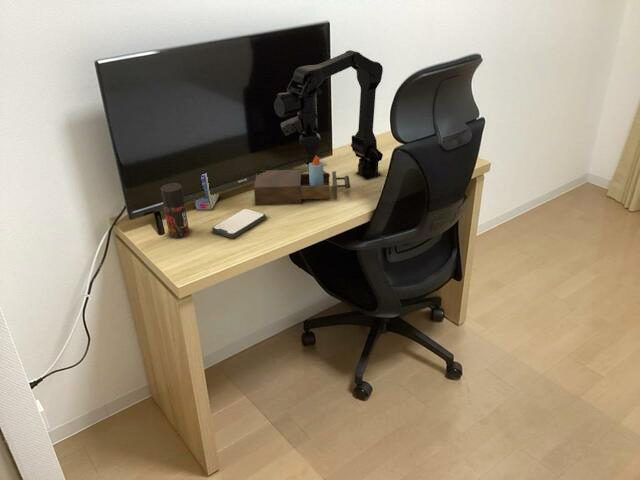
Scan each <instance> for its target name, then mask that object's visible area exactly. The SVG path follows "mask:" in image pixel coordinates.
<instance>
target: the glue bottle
mask: <svg viewBox="0 0 640 480" xmlns="http://www.w3.org/2000/svg"><path fill="white" fill-rule="evenodd" d="M308 173H309V182H310V186H320V185H324V183H323V173H324V163H323V162H322V161H320V157H319V156H317V154H316V155H315V158H314V160H313V162H312V163H309V162H308Z"/></svg>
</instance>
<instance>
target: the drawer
mask: <svg viewBox="0 0 640 480" xmlns="http://www.w3.org/2000/svg"><path fill="white" fill-rule="evenodd" d="M331 177H332V178H331V179H332V180H331V181H332V196H333V197H332V198H333V200H338V188H345V189H347V190H348V189H350V188H351V182H350V176H349V175H345V176H344V177H341V176H340V177H338V176H337V171H336V170H334V171H332V172H331ZM339 180H340V181H341V180H343V181H344V184H338V181H339ZM323 183H324V185H320V186H310V182H309V172H305V173H302V172H301V200H313V199H317V200H318V199H319V200H320V199H331V185H330V172H323Z"/></svg>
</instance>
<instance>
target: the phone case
mask: <svg viewBox="0 0 640 480" xmlns="http://www.w3.org/2000/svg"><path fill="white" fill-rule="evenodd" d="M265 219H266V213H263V212H260V211H257V210H254V209H250V208H242V209H241V210H239V211H238V212H236V213H234V214H232V215H230V216H229V217H227V218H225V219H223V220H222V221H220V222H219V223H216V224H215V225H213V226H212V230H211V231H212V232H213V233H215V234H217V235H221V236H224V237H227V238H230V239H234V238H237V237H238V236H240V235H241V234H243V233H245V232H246V231H248V230H249V229H251V228H252V227H254V226H256V225H257V224H259V223H261V222H262V221H264V220H265Z"/></svg>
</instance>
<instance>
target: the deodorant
mask: <svg viewBox="0 0 640 480" xmlns="http://www.w3.org/2000/svg"><path fill="white" fill-rule="evenodd" d="M160 195H161V198H162V204H163V210H164V214H165V219H166V225H167V231H168V236H169V237H170V238H172V239H183V238H185V237H187V236H188V235H189V234H190V228H189V222H188V215H187V209H186V203H185V197H184V190H183V186H182V184H181V183H178V182H171V183H166V184H163V185H162V186H161V187H160Z"/></svg>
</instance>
